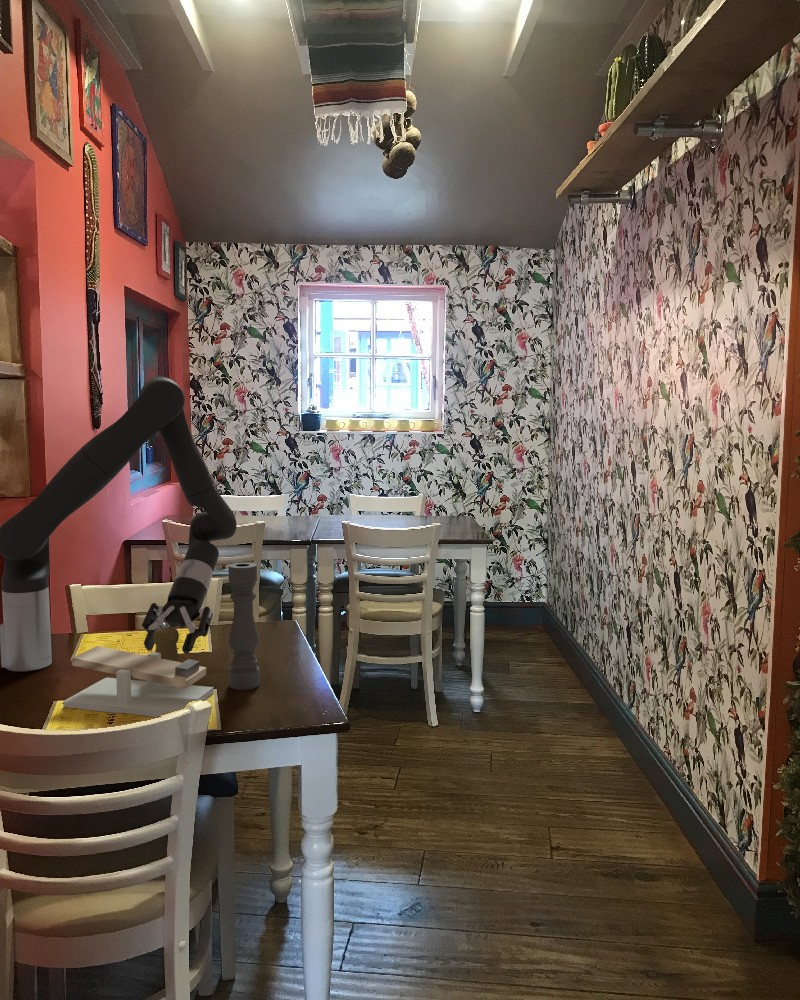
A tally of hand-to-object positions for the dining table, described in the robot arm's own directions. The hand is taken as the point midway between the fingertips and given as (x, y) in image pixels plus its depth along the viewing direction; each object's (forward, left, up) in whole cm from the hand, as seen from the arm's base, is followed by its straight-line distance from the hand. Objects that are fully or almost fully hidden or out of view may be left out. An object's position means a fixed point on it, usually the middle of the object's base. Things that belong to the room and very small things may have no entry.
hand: (166, 650), depth 166 cm
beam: (+1, -12, 0) cm, 12 cm away
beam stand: (+1, -12, -6) cm, 14 cm away
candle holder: (+17, +1, -6) cm, 18 cm away
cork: (0, 0, -6) cm, 7 cm away
